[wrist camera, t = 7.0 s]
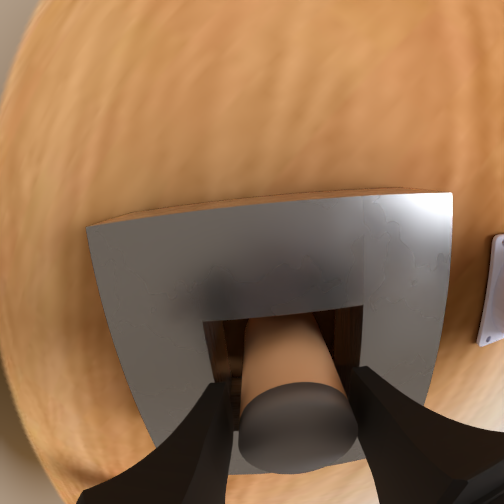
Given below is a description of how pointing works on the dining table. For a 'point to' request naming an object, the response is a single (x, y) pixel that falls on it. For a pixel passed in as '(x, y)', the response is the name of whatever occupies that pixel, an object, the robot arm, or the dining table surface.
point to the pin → (291, 398)
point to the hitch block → (273, 289)
